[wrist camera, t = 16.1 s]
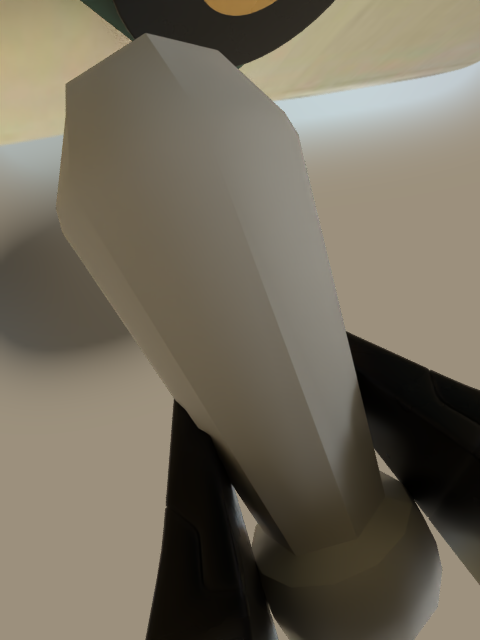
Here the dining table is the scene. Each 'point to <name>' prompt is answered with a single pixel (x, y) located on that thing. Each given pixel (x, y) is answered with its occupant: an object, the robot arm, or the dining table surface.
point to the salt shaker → (244, 325)
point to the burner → (222, 23)
